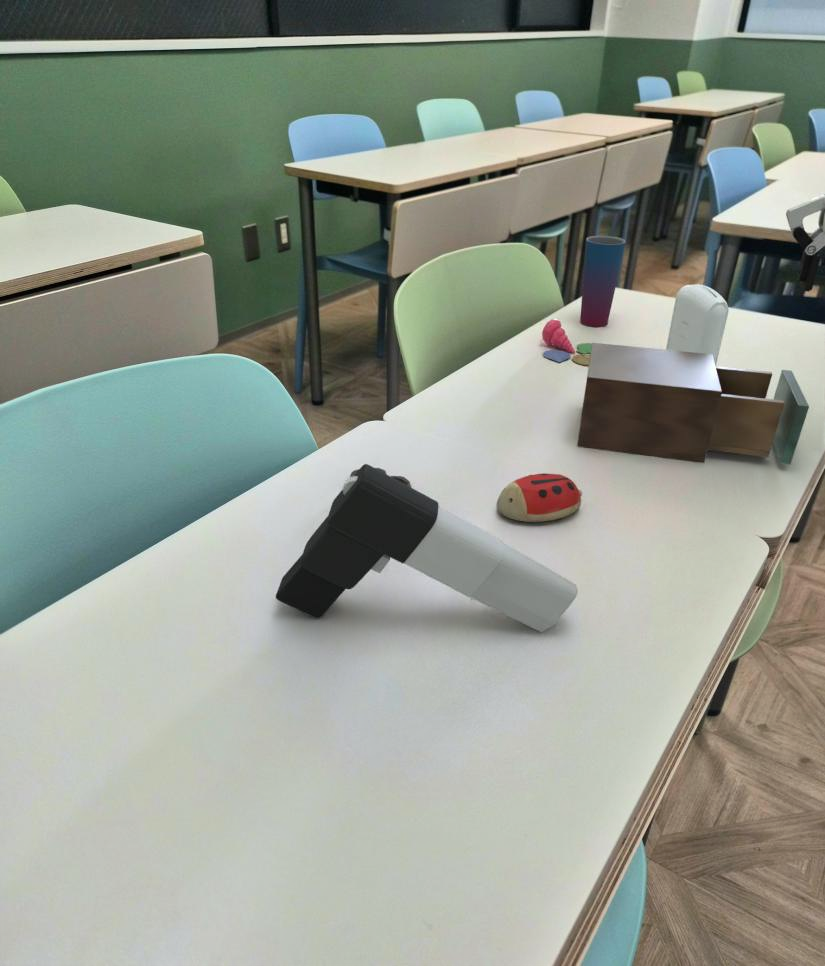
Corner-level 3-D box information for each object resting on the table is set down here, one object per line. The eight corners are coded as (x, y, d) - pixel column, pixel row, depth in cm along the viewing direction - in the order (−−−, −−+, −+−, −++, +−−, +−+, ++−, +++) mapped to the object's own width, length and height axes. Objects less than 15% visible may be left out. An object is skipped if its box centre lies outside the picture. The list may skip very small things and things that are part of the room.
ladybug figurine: (486, 500, 83) (488, 473, 81) (563, 486, 85) (567, 460, 84) (511, 532, 77) (514, 504, 75) (593, 516, 80) (598, 489, 78)
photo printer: (661, 352, 123) (675, 279, 117) (684, 350, 124) (699, 277, 118) (693, 375, 115) (711, 297, 108) (718, 373, 116) (737, 296, 109)
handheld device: (283, 574, 67) (359, 453, 60) (484, 673, 72) (578, 571, 65) (273, 602, 64) (352, 477, 57) (485, 704, 68) (583, 600, 61)
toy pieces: (523, 354, 122) (526, 329, 119) (552, 336, 130) (555, 312, 127) (591, 371, 116) (595, 344, 114) (617, 350, 124) (621, 325, 122)
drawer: (785, 425, 98) (801, 371, 94) (801, 466, 88) (820, 407, 84) (663, 411, 101) (674, 358, 97) (666, 449, 92) (678, 392, 88)
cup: (605, 331, 132) (618, 246, 125) (569, 324, 135) (580, 241, 128) (617, 321, 137) (630, 238, 129) (582, 314, 140) (594, 233, 133)
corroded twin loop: (367, 469, 88) (367, 462, 87) (421, 491, 84) (421, 483, 83) (339, 486, 84) (339, 479, 84) (394, 510, 80) (394, 502, 80)
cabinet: (697, 419, 101) (712, 354, 96) (704, 462, 91) (722, 391, 86) (582, 406, 104) (592, 342, 100) (577, 446, 94) (587, 376, 89)
